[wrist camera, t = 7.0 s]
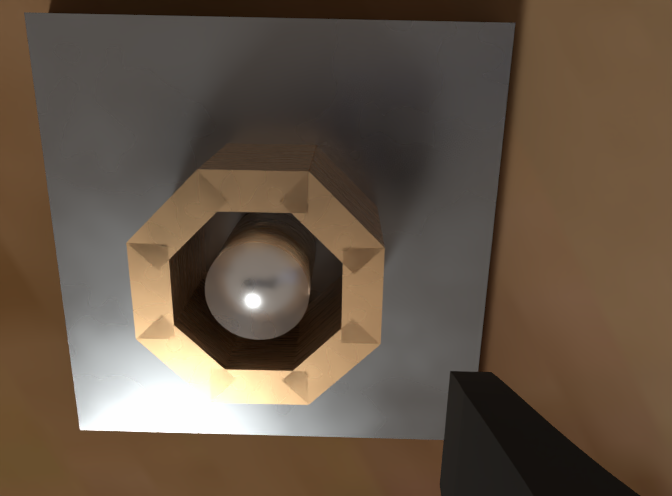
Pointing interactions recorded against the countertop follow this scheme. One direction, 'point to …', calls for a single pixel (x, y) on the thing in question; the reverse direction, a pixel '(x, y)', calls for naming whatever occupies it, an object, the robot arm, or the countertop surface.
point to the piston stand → (273, 228)
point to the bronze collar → (190, 273)
